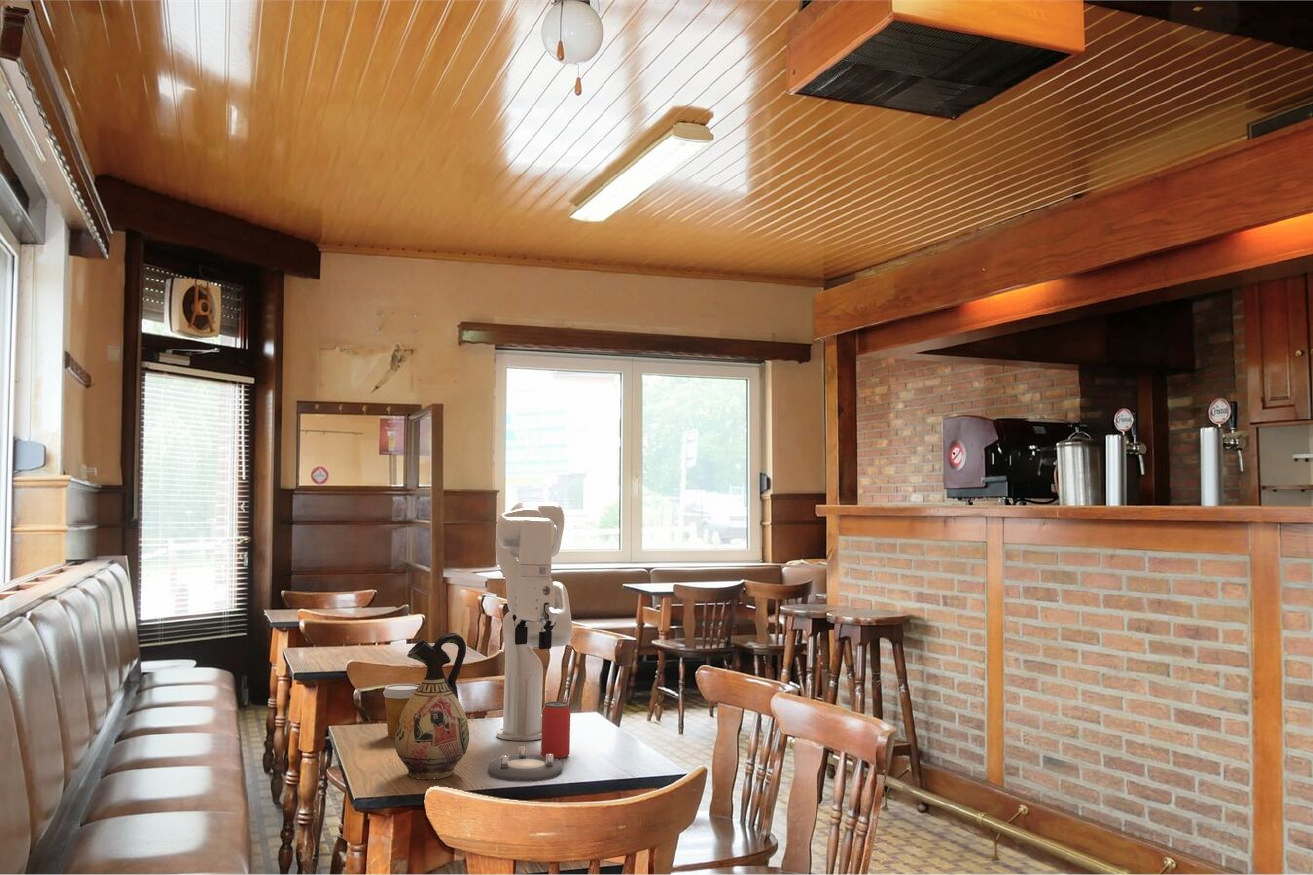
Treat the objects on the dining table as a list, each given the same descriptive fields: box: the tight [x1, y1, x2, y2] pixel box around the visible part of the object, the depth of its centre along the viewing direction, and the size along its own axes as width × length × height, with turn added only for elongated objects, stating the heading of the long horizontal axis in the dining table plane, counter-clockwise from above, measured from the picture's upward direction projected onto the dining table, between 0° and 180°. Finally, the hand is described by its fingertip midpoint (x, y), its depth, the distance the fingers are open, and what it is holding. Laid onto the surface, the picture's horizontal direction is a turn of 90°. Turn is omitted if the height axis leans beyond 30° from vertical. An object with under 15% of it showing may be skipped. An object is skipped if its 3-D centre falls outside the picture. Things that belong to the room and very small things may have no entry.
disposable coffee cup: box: [382, 683, 420, 739], centre depth 256 cm, size 10×10×12 cm
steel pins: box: [500, 745, 553, 769], centre depth 222 cm, size 10×11×2 cm
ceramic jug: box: [394, 632, 470, 780], centre depth 220 cm, size 17×15×30 cm
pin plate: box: [487, 754, 563, 782], centre depth 223 cm, size 16×16×2 cm
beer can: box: [540, 701, 571, 760], centre depth 238 cm, size 7×7×12 cm
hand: (532, 646), depth 237 cm, fingers open, 9 cm apart
